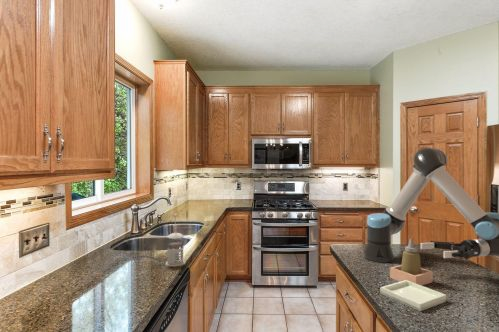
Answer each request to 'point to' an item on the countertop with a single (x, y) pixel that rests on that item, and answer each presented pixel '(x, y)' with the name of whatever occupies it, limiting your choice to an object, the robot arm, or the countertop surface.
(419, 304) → the tray
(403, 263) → the squeeze bottle
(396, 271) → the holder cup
